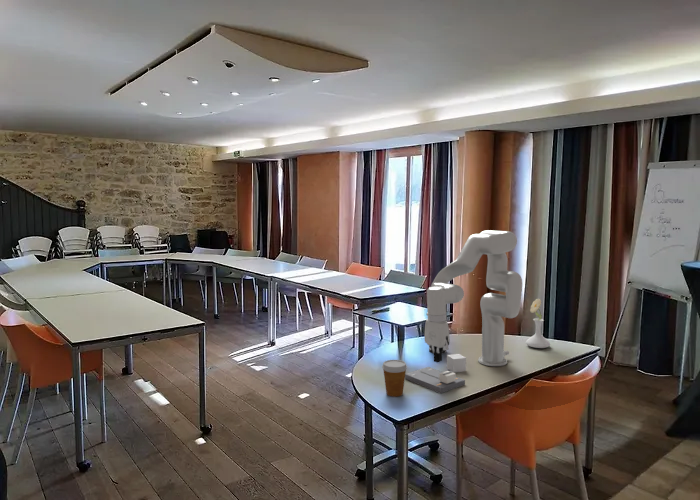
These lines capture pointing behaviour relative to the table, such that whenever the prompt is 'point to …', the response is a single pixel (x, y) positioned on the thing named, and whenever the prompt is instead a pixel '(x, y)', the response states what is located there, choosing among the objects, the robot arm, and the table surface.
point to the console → (432, 380)
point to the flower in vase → (537, 329)
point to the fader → (447, 377)
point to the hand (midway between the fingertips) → (437, 361)
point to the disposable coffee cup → (394, 377)
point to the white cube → (456, 363)
